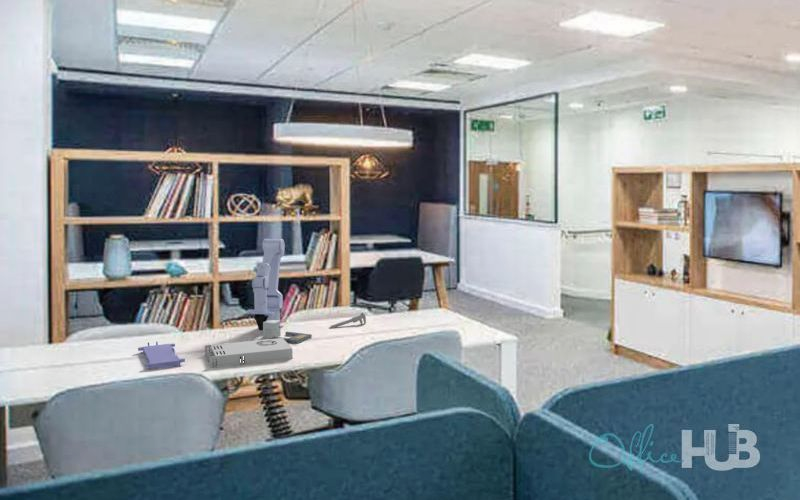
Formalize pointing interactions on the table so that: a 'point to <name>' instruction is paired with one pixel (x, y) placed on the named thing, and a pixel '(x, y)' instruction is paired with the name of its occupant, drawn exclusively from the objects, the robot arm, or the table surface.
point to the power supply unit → (248, 352)
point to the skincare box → (271, 328)
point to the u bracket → (295, 337)
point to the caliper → (351, 320)
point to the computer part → (161, 356)
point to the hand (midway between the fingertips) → (261, 330)
